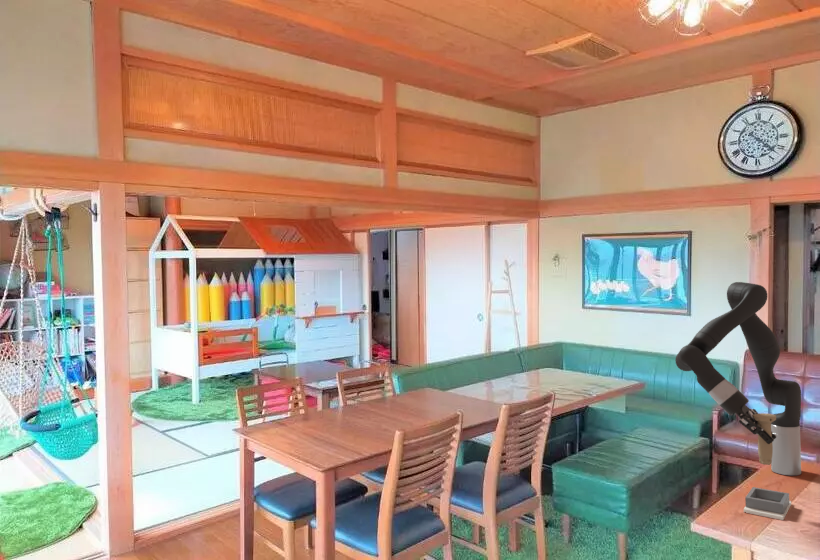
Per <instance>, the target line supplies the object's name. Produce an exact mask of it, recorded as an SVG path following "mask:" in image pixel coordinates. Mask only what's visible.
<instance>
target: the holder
mask: <svg viewBox="0 0 820 560" xmlns="http://www.w3.org/2000/svg"><path fill="white" fill-rule="evenodd" d="M791 506H792V500H790V493H789V492H784V491H777V490H773V489H767V488H766V489H765V488H760V487H755V486H753V487H751V489H750V490H749V491H748V493H747V494H746V496H745V506H744V508H743V513H745V512H746V514H751V515H755V516H760V517H765V518H769V519H770V518H771V519H776V520H780V521H784V519H785V518H786V516H787V513H788V511H789V509H790V508H791Z"/></svg>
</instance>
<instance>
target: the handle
mask: <svg viewBox="0 0 820 560" xmlns="http://www.w3.org/2000/svg"><path fill="white" fill-rule="evenodd" d="M773 414H774V413H773ZM773 414H772V413H766V412H765V413H758V414H754V415H753V416H754V418H755V420H757V421H758V422H759V424H760V425H761V427H762V428H763V429H764V430H765V431H766V432H767V433H768V434H769V435H770V436H771V437H772V434H771V423H772V422H773V421H775V420H776V415H773ZM772 445H773V444H772V443H770V444H767V443H766V442H765V441H764V440H763V439H762V438H761V437H760V436H759V435H757V452H758V460H759V461H758V462H759V463H760V464H762V465H763V466H764V465H766V466H770V465H771V463H772V460H771V459H772V453H773V446H772Z"/></svg>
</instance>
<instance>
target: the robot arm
mask: <svg viewBox="0 0 820 560" xmlns="http://www.w3.org/2000/svg"><path fill="white" fill-rule="evenodd" d="M726 299H727V303H728V304H729V307H730V309H731V310H729V311H727V312H725V313H723V314H721V315H720V316H719V315H718V316H716V317H715V318H713V319H711V320H709V321H708V322H707V323H706V324H705V325H704V326H702V328H701V329H700V330H699V331H697V333H696V334H695V335H694V336H693V338H692V340H690V342H689V343H687V344H686V345H685V346H682V348H680V350H679V351H678V353H677V355H676V356H675V364H676V367H677V368H678V369H679V370H681V371H683V372H693V373H694V375H696V382H697V383H698V385H700V386H701V387H702V388H703V389H704V390H705V391H706V393H708V394H709V396H710V397H711V399H713V400H714V401H715V403H717V405H718V406H719V407H720V408H722V409H723V410H724V411H725V412H726V413H727V414H728V415H729V416H733V415H734V414H736V415H737V417H738V420H739V421H738V423H740V424H741V425H742V426H743V427H744V428H745V429H747V430H749V431H750V432H751V433H752V434H753V435H757V436H758V435H759V436H760V437H761V438H762V439H763V440H764V441H765V442H766V443H767V444H770V443H772V444H773V445H772V446H773V453H772V459H771V460H772V463H771V464H770V465H771V467H770V468H771V471H772V472H773V473H776V474H780V475H785V476H800V475H801V474H802V453H801V451H802V450H801V429H800V428H801V427H800V426H801V423H800V422H801V415H802V412H801V411H802V410H801V409H802V390H801V386H800V384H799V383H798V382H797V381H793V380H786V379H779V378H776V376H775V373H774V368H775V365H776V364H777V362H778V359H779V358H780V354H781V350H780V346H779V343H778V340H777V337H776V335H775V333H774V332H773V330H771V328H770V327H769V325H767V324H766V323H765V322H764V321H763V320H762V319H761V318H760V317H759V316H758V315H757V313H758V312H759V311H760V310H761V309H762V308H763V307H764V306H765V305H766V303H767V300H768V292H767V289H766V288H765V287H764V286H762V285H760V284H756V283H752V282H751V283H750V282H743V281H736V282H732V283H731V284H730V285H729V286H728V288H727V290H726ZM739 326H740V329H741V333H742V334H743V336H744V338H745V342H746V344H747V347H748V351H749V353H750V355H751V357H752V359H753V363H754V364H755V365H754V366H755V368H756V371H757V374H758V378H759V382H760V386H761V390H762V393H763V396H764V398H765V400H766V402H768V403H770V404H772V405H777V406H783V407H784V411H782V412H780V413H773V415H776V420H775V421H773V422H772V423H771V434H772V437H771V436H770V435H769V434H768V433H767V432H766V431H765V430H764V429H763V428H762V427H761V425H760V424H759V422H758V421H757V420H755V418H754V416H753V415H754V414H759V412H758V411H757V410H756V409H755V408H753V409H752V408H750V407H748V406H747V405H746V404H747V403H749V402H750V401H749V399H748V398H747V397H746V396H745V395H744V394H743V393H742V392H741V391H740V390H739V389H738V388H737V387H736V386H735V385H734V384H733V383H732V382H730V381H729V380H727V378H726V377H724V376H723V375H722V373H720V371H718V370H717V369H716V368H715V366H714V365H713V364H712V362H711V361H710V360H709V358H708V357H707V355H708V354H710V352H711V351H713V350H714V349H715V348H717V346H718V345H719V344H720V343H721V342H722V341H723V340H724V338H726V337H727V335H729V334H730V332H732V331H733V330H734V329H736V328H737V327H739Z"/></svg>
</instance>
